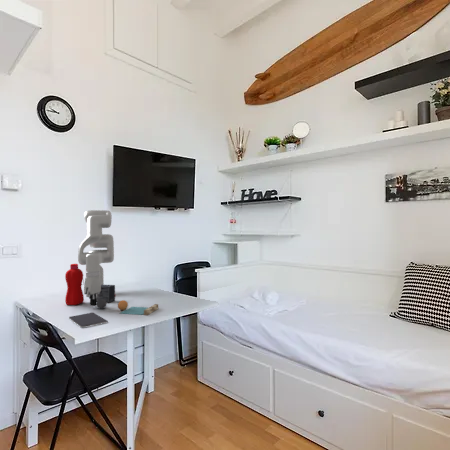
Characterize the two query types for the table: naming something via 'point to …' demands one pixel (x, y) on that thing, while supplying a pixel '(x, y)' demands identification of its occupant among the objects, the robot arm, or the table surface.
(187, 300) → the table surface
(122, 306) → the orange ball
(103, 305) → the dark gray ball
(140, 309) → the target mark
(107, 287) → the small box
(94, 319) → the notebook
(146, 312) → the stopper strip
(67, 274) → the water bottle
